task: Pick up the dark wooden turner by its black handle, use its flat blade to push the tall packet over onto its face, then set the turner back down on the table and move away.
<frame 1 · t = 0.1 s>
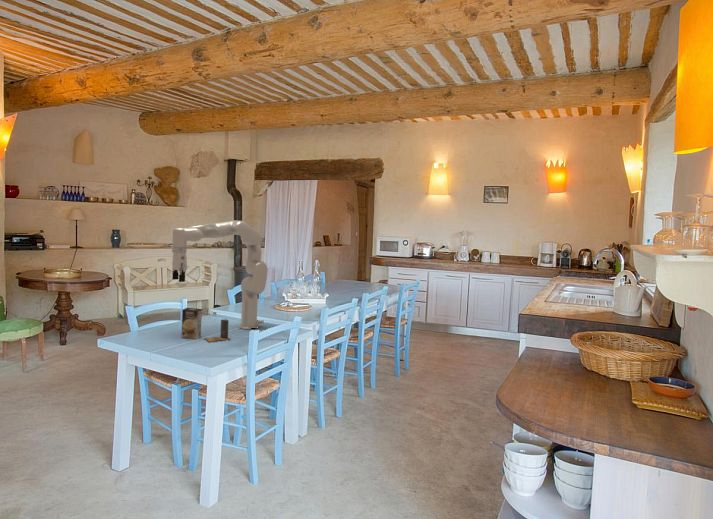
hand: (178, 280, 278), 31 cm above the table, tool pointing down, fingers open, 9 cm apart
coffee box: (191, 337, 278), on the table
wooden turner: (224, 339, 278), on the table
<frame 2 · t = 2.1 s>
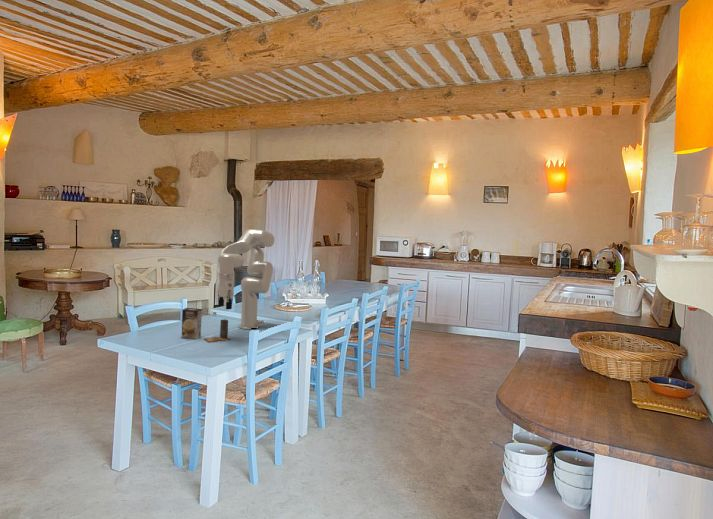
hand: (224, 307, 276), 18 cm above the table, tool pointing down, fingers open, 9 cm apart
nothing on the table moved.
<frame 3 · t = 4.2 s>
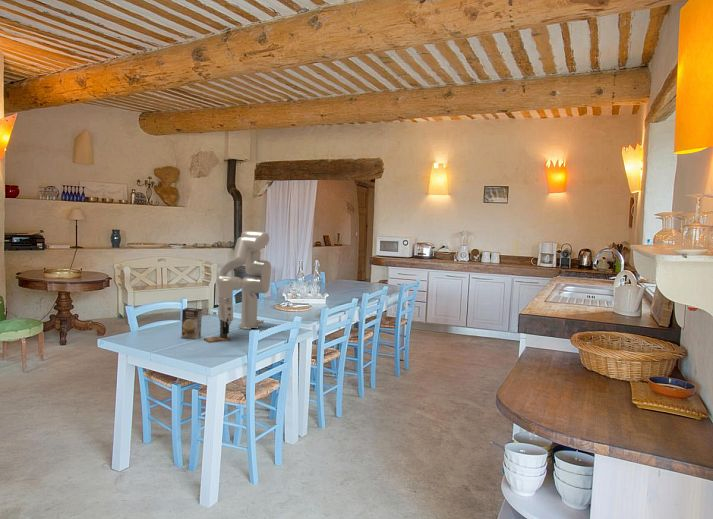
hand: (224, 332, 278), 4 cm above the table, tool pointing down, fingers closed on wooden turner, 3 cm apart
wooden turner: (223, 339, 278), on the table, touching gripper
everything else where it was.
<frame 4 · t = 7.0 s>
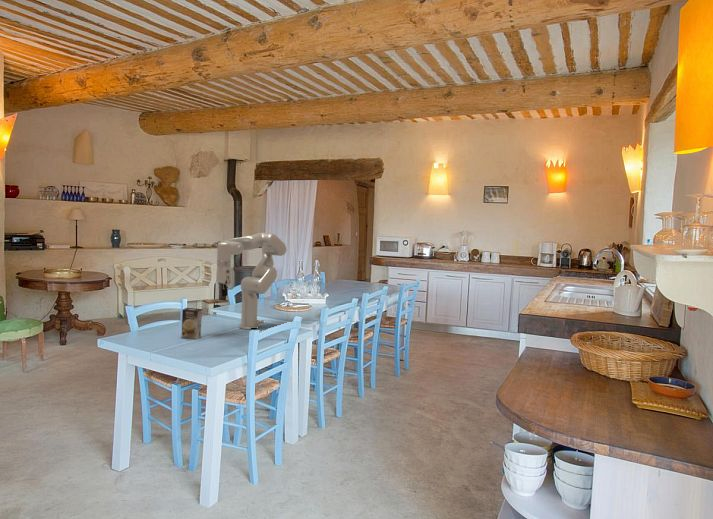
hand: (223, 295, 288), 23 cm above the table, tool pointing down, fingers closed on wooden turner, 3 cm apart
wooden turner: (222, 301, 288), point 19 cm above the table, touching gripper
everything else where it was.
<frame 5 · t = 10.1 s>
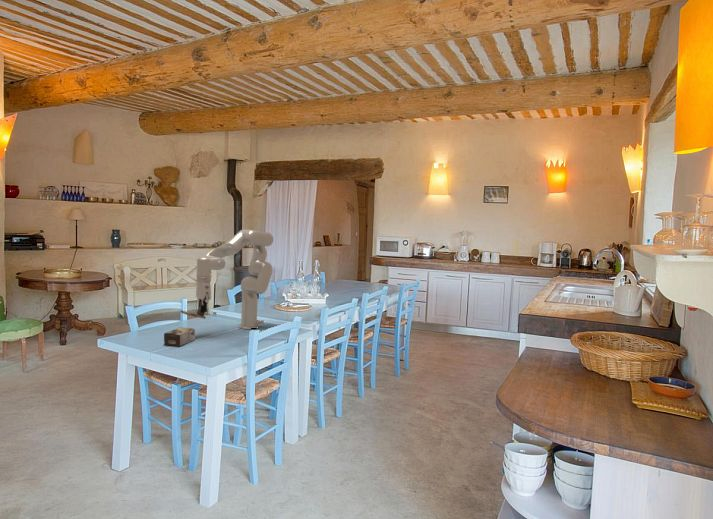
hand: (202, 311, 281), 14 cm above the table, tool pointing down, fingers closed on wooden turner, 3 cm apart
coffee box: (187, 333, 274), point 3 cm above the table
wooden turner: (199, 316, 280), point 11 cm above the table, tilted 17°, touching gripper
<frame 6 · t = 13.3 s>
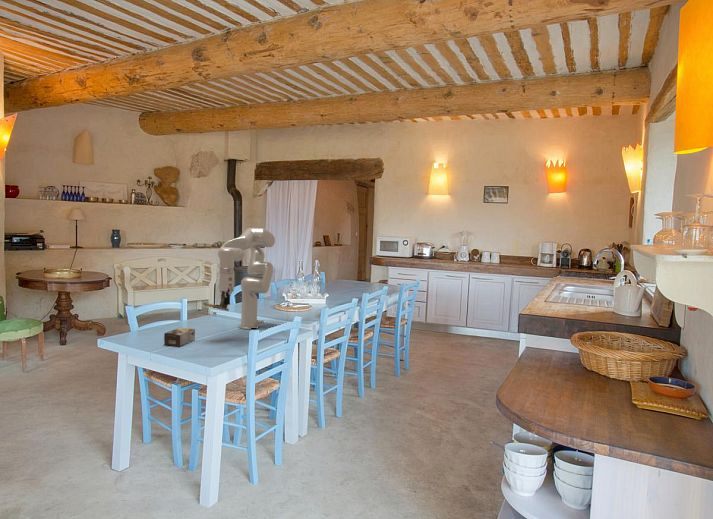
hand: (225, 303, 276), 20 cm above the table, tool pointing down, fingers closed on wooden turner, 3 cm apart
wooden turner: (222, 309, 276), point 17 cm above the table, tilted 17°, touching gripper
everything else where it was.
when the fingers open (5 cm above the table, at t = 16.1 s): wooden turner drops 2 cm, on the table.
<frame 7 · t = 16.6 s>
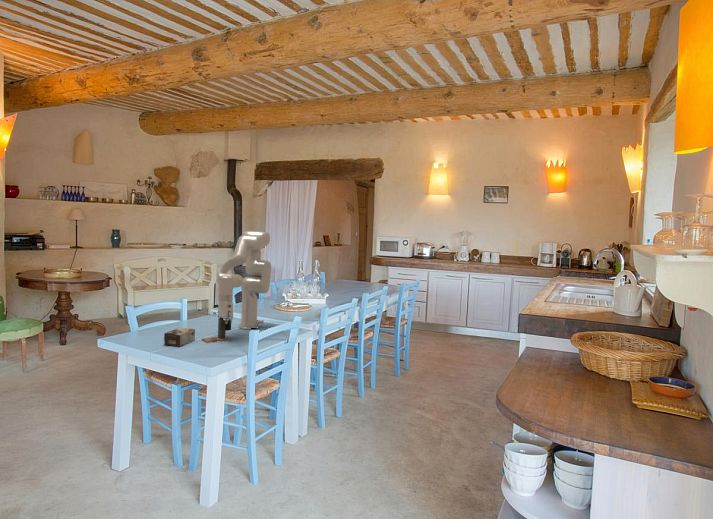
hand: (224, 328, 278), 6 cm above the table, tool pointing down, fingers open, 8 cm apart
wooden turner: (221, 339, 277), on the table
everything else where it was.
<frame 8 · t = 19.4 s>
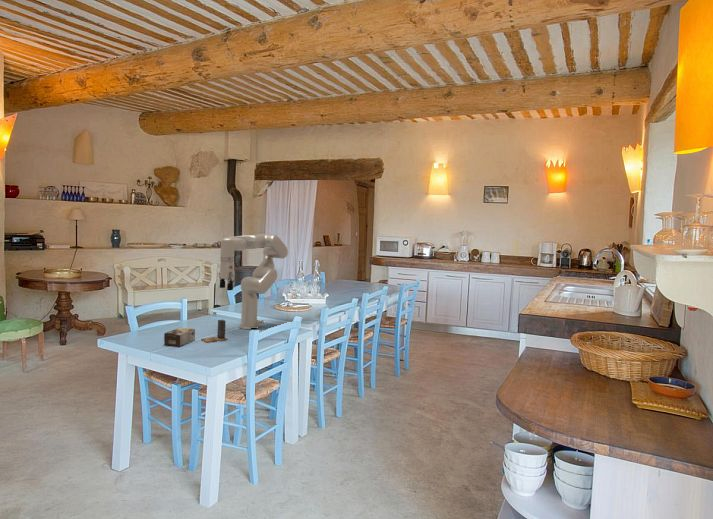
hand: (226, 288, 289), 26 cm above the table, tool pointing down, fingers open, 9 cm apart
nothing on the table moved.
at the end: coffee box tilted 90°; the gripper is holding nothing; wooden turner inside the target area (1.3 cm from its centre), on the table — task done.
